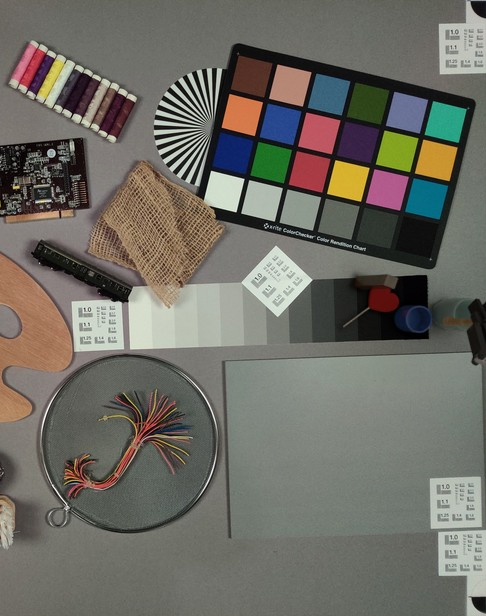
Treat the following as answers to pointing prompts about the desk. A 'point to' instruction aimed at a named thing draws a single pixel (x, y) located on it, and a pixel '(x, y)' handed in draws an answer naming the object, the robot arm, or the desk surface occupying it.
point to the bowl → (413, 318)
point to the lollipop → (380, 301)
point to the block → (375, 282)
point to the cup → (452, 312)
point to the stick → (457, 321)
